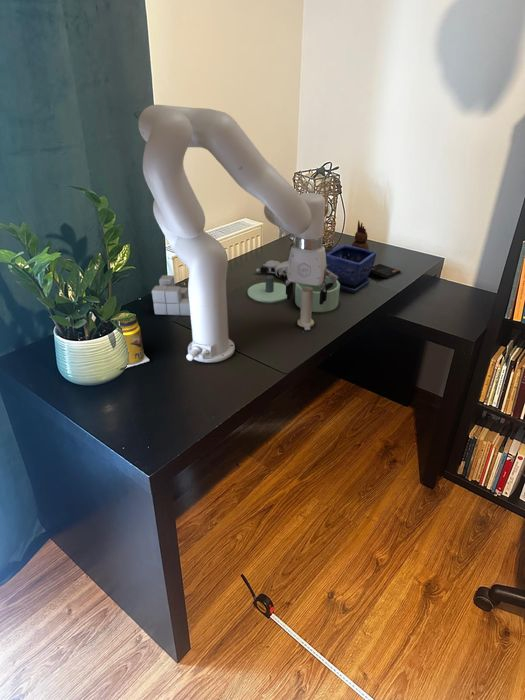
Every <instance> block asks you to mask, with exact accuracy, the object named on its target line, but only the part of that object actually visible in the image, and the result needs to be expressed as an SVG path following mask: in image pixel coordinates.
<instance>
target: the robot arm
mask: <svg viewBox="0 0 525 700" xmlns="http://www.w3.org/2000/svg"><path fill="white" fill-rule="evenodd" d="M137 124H138V125H137V126H138V130H139V133H140V135H141V137H142V139H143V140H144V141H145V142H146V143H145V147H144V150H143V155H142V156H143V157H142V173H143V177H144V180H145V182H146V184H147V187H148V189H149V191H150V193H151V195H152V198H153V199H154V200H153V204H152V211H153V216H154V218H155V221H156V223H157V224H158V227H159V228H160V230H161V232H162V234H163V236H164V238H165V239H166V241H167V242H168V244H169V246H170V247H171V250H172V251H173V253H174V255H175V256H176V257H177V258H178V259H179V261H181V262H182V263H183V264H184V265H185V266H186V267H187V269H188V283H187V288H188V297H189V304H190V315H191V316H190V324H191V337H192V341H191V342H190V343H189V344H188V346H187V354H186V360H187V361H189V362H192V361H193V360H194V361H197V362H201V363H208V364H209V363H218V362H222V361H225V360H227V359H229V358H230V357H232V355H233V354H234V353H235V352H236V351H235V350H236V347H235V342H234V341H233V340H232V339H230V338H229V320H228V299H227V298H228V297H227V276H228V275H227V274H228V267H229V257H228V253H227V250H226V248H225V247H224V245H223V244H222V243H221V242H220V241H219V240H218V239H216V237H214V236H212V235H211V234H210V233H208V232H206V230H205V226H206V215H205V211H204V209H203V207H202V204H201V203H200V202H199V199H198V198H197V195H196V193H195V191H194V190H193V189H194V188H193V187H192V185H191V183H190V181H189V178H188V176H187V173H186V171H185V167H184V160H185V156H186V152H187V150H188V148H199V149H200V148H201V149H204V150H207V151H208V152H209V153H210V154H211V155H212V156H213V158H215V160H216V161H217V162H218V163H219V164H220V165H221V166H222V168H223V169H224V170H225V171H226V172H227V173H228V175H229V176H230V177H231V178H232V179H233V181H234V182H235V183H236V184H237V185H238V186H239V187H240V188H241V189H242V190H244V191H245V192H246V193H247V194H249V195H251V196H252V197H254V198H255V199H256V200H258V201H260V202H261V203H262V204H263V205H264V206H263V213H264V216H265V218H266V220H267V221H268V222H269V223H271V224H272V225H274V226H276V227H278V228H280V229H282V230H284V232H287V233H289V234H290V236H289V241H292V242H293V244H292V245H291V246H290V250H289V256H288V261H289V262H288V264H287V265H284V266H282V267H279V268H278V269H277V271H278V273H279V275H280V277H279V279H280V280H282V282H283V284H284V285H285V286H286V295H287V299H286V300H290V299H291V298H292V297H293V295H294V283H295V284H296V283H300V284H307V285H313V286H319V287H320V288H321V292H320V302H319V304H320V305H322V304H323V303H324V301H326V299H327V290H328V289H330V288H331V287H332V286H333V285H334V283H335V282H336V280H337V279H338V276H337V275H335V274H334V273H332V272H331V271H329V270H328V269H326V254H327V253H326V248H325V246H323V245H324V244H323V243H324V228H325V227H324V226H325V214H326V213H325V212H326V199H325V197H324V196H323V195H322V194H320V193H314V192H305V193H301V194H300V193H299V192H298V190H296V188H295V187H294V186H293V185H292V184H291V183H290V182H289V181H288V180H287V179H286V178H285V177H284V176H283V175H281V174H280V172H279V171H278V170H277V169H276V168H275V167H274V166H273V165H272V164H271V163H270V162H269V161H268V160H267V159H266V158H265V157H264V155H263V154H262V153H261V151H260V150H259V149H258V147H256V145H255V144H254V143H253V141H252V140H251V139H250V137H249V136H248V135H247V134H246V132H245V130H243V128H242V127H241V126H240V125H239V123H238V122H237V120H235V118H234V117H233V116H231V115H230V114H228V113H227V112H225V111H221V110H217V109H211V108H204V107H203V108H202V107H189V106H188V107H187V106H177V105H176V106H175V105H167V104H152V105H148V106H147V107H145V108H144V109H143V110H142V112H141V113H140V115H139V118H138V123H137ZM285 270H288V272H287V275H286V274H285V273H284V271H285ZM326 276H327V277H329V278H330V279H331V281H330V282H329V283H328V284H327V282H326V281H325V278H326Z"/></svg>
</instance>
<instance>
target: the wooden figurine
mask: <svg viewBox="0 0 525 700" xmlns="http://www.w3.org/2000/svg"><path fill="white" fill-rule="evenodd" d="M367 240H368V233H367V230H366V228H365V226H364V225H363V222H360V220H358V221H357V229H356V232H355V234H354V241H353V242H352V243H351V246H354V247H358V248H362V249H367V250H370V249H369V248H370V247H369V244H368V243H367ZM357 258H358V259H360V256H358V257H357ZM352 261H354V259H353V258H352Z"/></svg>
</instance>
